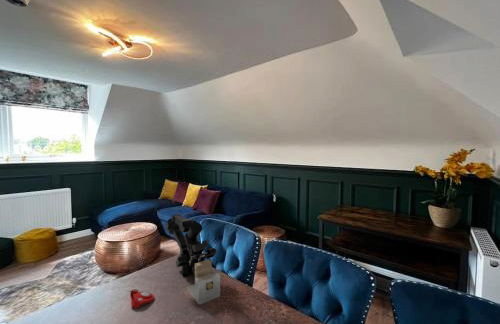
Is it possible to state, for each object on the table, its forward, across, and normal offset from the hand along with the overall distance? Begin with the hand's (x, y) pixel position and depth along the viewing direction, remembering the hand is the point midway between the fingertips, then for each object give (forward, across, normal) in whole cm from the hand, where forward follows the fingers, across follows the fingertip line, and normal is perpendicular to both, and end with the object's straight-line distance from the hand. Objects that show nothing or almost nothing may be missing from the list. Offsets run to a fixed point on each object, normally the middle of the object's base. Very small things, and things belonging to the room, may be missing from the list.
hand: (202, 274), depth 106 cm
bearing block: (+6, 0, +5) cm, 8 cm away
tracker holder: (-1, -24, +13) cm, 27 cm away
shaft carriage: (+8, 0, +1) cm, 8 cm away
